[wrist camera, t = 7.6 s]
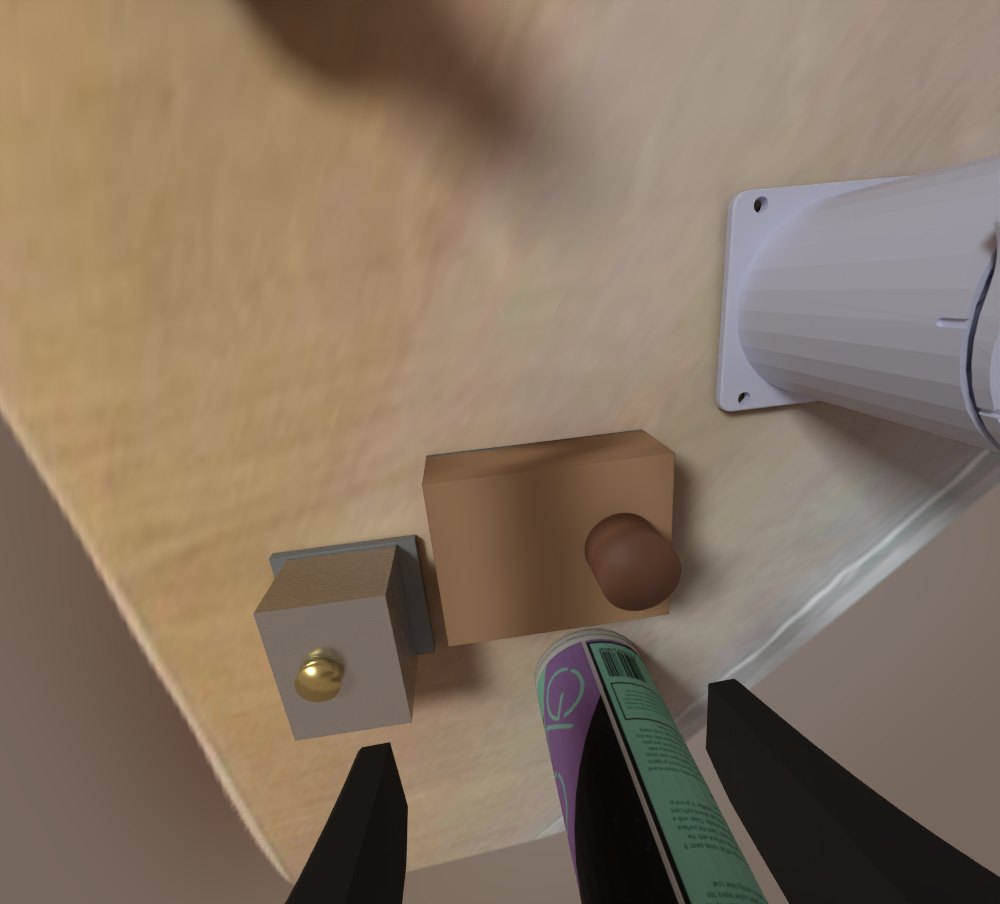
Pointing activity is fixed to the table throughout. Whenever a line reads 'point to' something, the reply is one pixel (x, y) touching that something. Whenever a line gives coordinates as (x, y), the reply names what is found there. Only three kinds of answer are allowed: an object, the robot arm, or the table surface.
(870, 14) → the table surface
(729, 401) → the robot arm
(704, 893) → the spray can
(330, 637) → the grey knob block
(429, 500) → the body
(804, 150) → the table surface
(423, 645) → the mat
